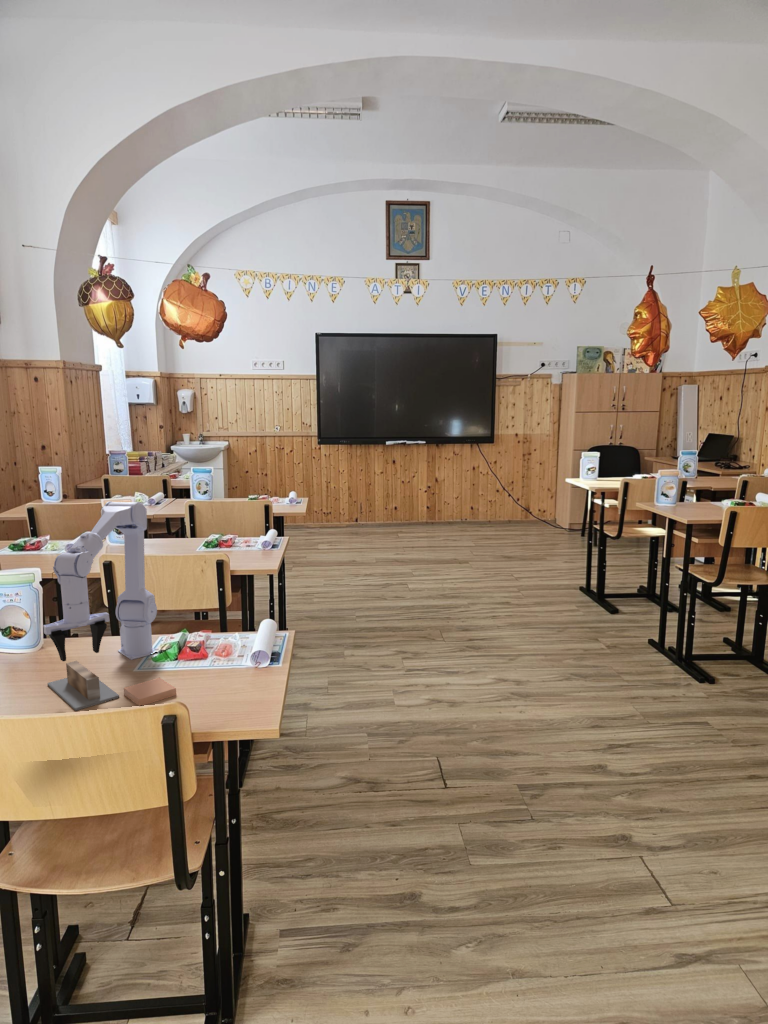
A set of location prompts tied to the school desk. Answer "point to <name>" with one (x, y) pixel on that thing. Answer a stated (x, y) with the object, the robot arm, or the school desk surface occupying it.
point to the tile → (149, 691)
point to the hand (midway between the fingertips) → (79, 655)
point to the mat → (77, 698)
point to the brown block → (83, 680)
